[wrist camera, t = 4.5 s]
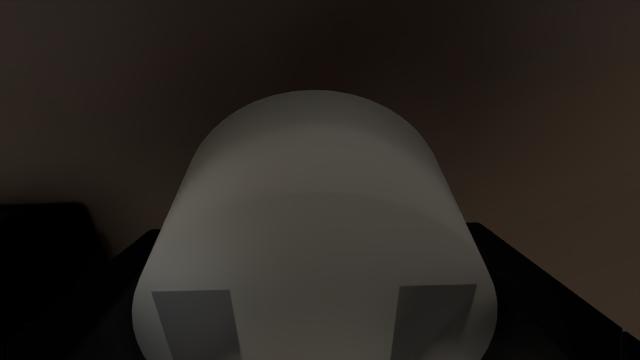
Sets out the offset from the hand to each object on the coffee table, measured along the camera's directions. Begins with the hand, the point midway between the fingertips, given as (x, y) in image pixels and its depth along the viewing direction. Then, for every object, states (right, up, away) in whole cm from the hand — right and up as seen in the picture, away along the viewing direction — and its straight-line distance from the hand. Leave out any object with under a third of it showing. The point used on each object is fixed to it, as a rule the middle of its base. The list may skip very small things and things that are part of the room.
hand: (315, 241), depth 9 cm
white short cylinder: (0, +1, +1) cm, 1 cm away
